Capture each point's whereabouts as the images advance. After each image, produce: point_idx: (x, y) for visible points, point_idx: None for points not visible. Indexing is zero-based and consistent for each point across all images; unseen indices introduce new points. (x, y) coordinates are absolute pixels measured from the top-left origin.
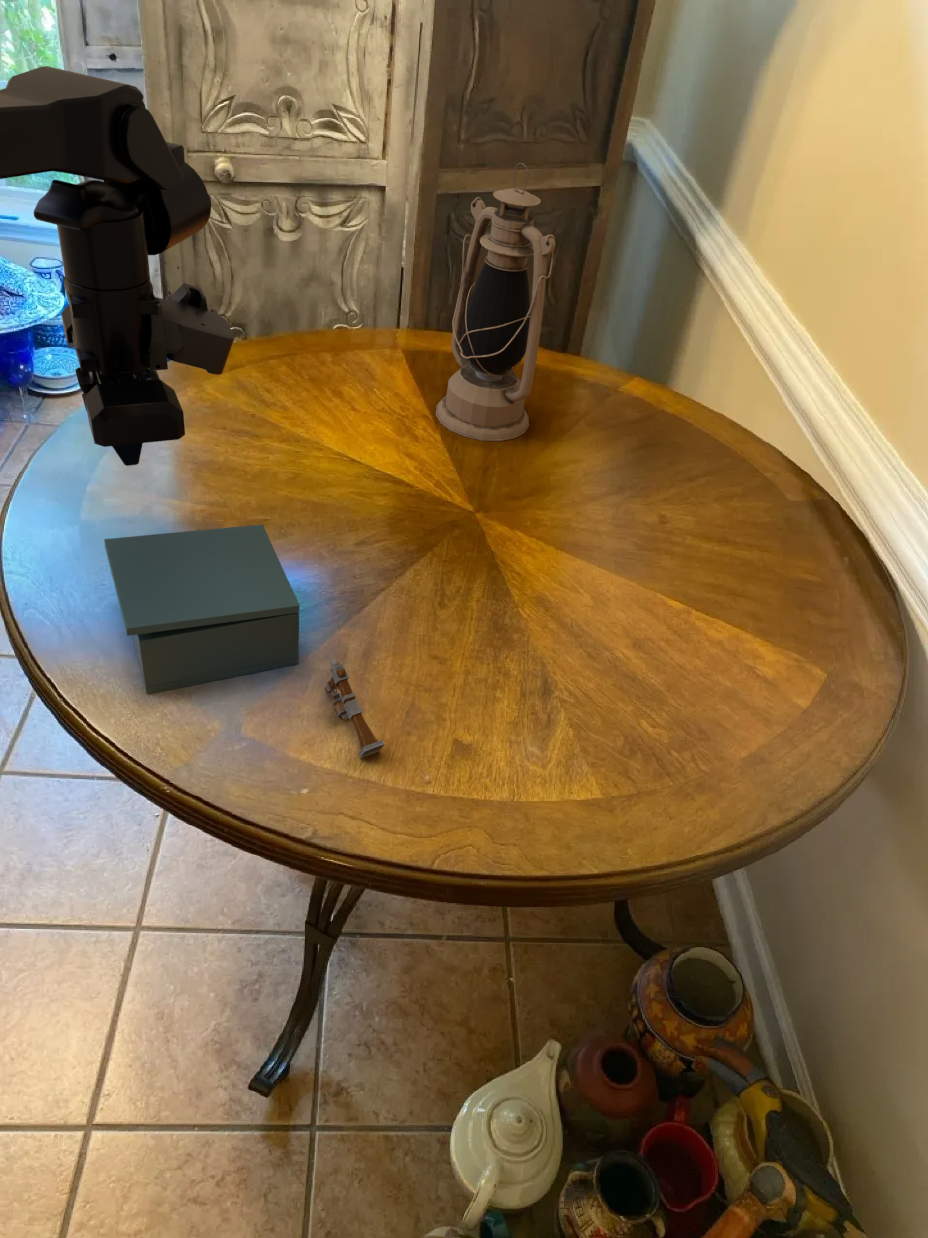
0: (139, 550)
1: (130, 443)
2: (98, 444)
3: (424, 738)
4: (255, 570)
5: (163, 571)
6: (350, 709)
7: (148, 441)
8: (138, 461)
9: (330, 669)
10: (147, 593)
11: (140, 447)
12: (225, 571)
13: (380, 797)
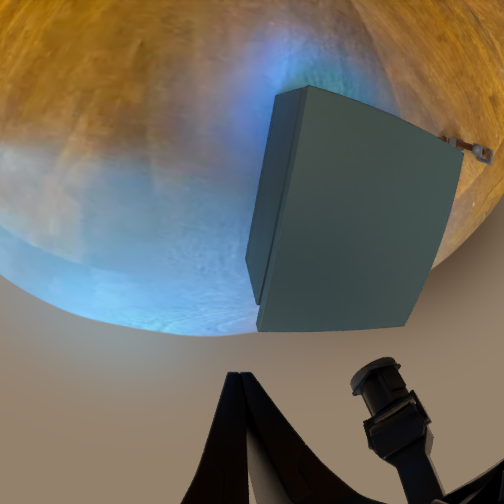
0: (302, 299)
1: (479, 475)
2: (445, 495)
3: (483, 112)
4: (406, 163)
5: (356, 280)
6: (484, 158)
7: (498, 462)
8: (254, 377)
9: (474, 153)
10: (379, 304)
11: (281, 413)
12: (392, 203)
13: (492, 168)
